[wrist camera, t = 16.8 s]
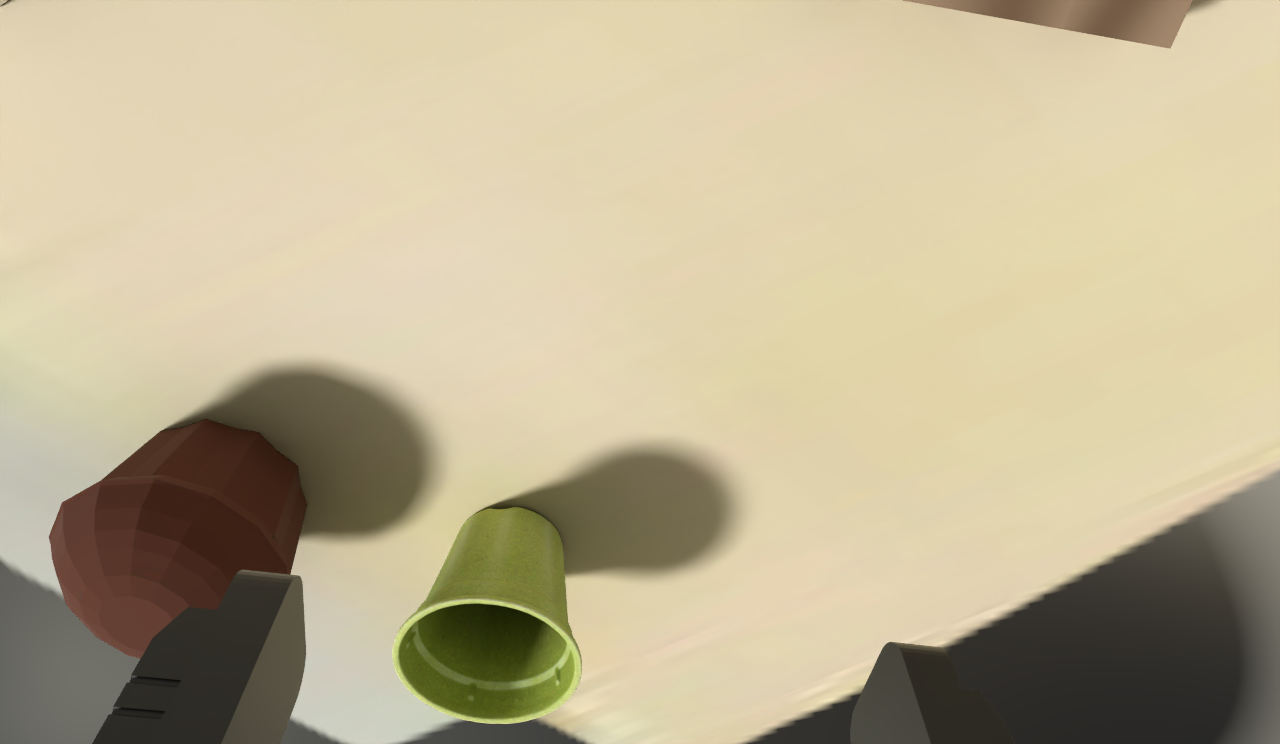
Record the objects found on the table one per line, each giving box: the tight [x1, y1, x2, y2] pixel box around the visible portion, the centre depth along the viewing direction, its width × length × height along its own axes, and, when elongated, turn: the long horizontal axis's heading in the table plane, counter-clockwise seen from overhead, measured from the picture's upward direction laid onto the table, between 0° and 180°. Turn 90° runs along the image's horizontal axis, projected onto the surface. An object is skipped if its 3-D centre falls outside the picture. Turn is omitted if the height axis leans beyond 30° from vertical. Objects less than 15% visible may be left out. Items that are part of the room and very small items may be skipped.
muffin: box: [49, 419, 307, 659], centre depth 45 cm, size 12×11×10 cm
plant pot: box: [392, 507, 582, 724], centre depth 47 cm, size 9×9×9 cm
